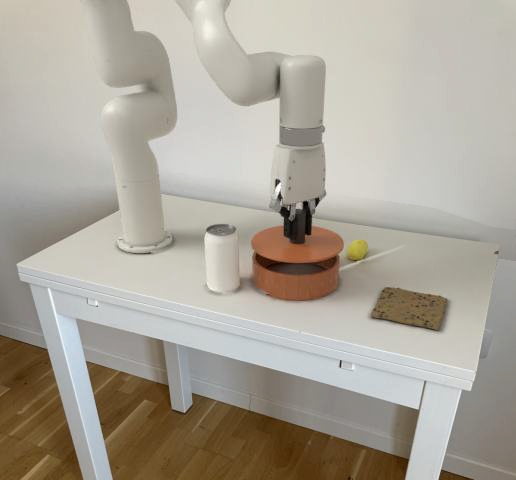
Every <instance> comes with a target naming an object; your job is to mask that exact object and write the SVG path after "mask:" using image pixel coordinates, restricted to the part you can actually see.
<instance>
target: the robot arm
mask: <svg viewBox="0 0 516 480" xmlns="http://www.w3.org/2000/svg"><path fill="white" fill-rule="evenodd" d="M174 1H175V3H176V4H177V5H178V7H179V8H180V10H181V11H182V12H183V14H184V15H185V17H186V18H187V19H188V20H189V22H190V24H191V26H192V30H193V31H192V33H193V39H194V44H195V47H196V51H197V55H198V57H199V60H200V63H201V64H202V66H203V68H204V69H205V71H206V72H207V75H209V76H210V78H211V80H212V81H213V82H214V83H215V85H216V86H217V88H218V89H219V90H220V91H221V92H222V93H223V95H224V96H225V97H226V98H227V99H228V100H229V101H231V102H232V103H234V104H235V105H238V106H241V107H251V106H255V105H258V104H260V103H261V104H262V103H264V102H269V101H273V100H278V99H279V113H278V114H279V118H278V119H279V121H278V122H279V124H278V125H279V126H278V132H279V133H278V134H279V135H278V144H275V146H274V150H273V154H272V161H271V166H270V167H271V168H270V179H269V180H270V181H269V197H270V199H271V200H270V202H269V205H268V208H269V209H270V210H272V211H275V212H278V214H279V215H280V217H281V218H283V225H284V230H283V231H284V236H285V237H287V238H289V239H291V240H296V239H297V220H296V219H295V212H296V209H297V204H300V209H303V210H305V211H306V230H305V235H308V236H309V235H311V231H312V226H313V215H315V214H316V209H317V207H318V206H319V204H320V203H321V201H322V200H323V199H324V198H326V196H327V191H326V176H327V175H326V174H327V173H326V171H327V169H326V168H327V167H326V166H327V165H326V151H325V143H324V142H323V134H324V133H325V132H326V127H325V125H324V111H325V94H326V93H325V92H326V77H327V75H326V73H327V65H326V61H325V59H323V58H322V57H320V56H317V55H312V54H311V55H310V54H299V55H298V54H296V55H289V54H286V53H282V52H277V51H263V52H255V53H249V54H247V52H246V51H245V50H244V48H243V47H242V46H241V44H240V43H239V42H238V40H237V39H236V37H235V36H234V34H233V32H232V31H231V29H230V27H229V25H228V23H227V20H226V19H227V18H226V12H227V10H228V8H229V7H230V5H231V2H232V0H174ZM80 3H81V6H82V10H83V14H84V17H85V23H86V24H85V25H86V28H87V34H88V37H89V41H90V46H91V50H92V54H93V58H94V59H93V60H94V62H95V63H94V64H95V66H96V70H97V73H98V76H99V77H100V79H101V81H102V82H103V83H104V85H106V86H108V87H109V88H115V89H119V88H121V89H122V88H127V87H128V88H129V87H134V86H135V88H136V92H132V93H127V94H123V95H119V96H116V97H114V98H112V99H110V100H109V101H108V102H106V104H104V106H103V108H102V110H101V114H100V124H101V128H102V132H103V135H104V138H105V140H106V143H107V147H108V150H109V154H110V159H111V164H112V169H113V177H114V181H115V189H116V197H117V203H118V210H119V217H120V225H121V229H122V234H121V235H120V236H119V237H117V240H116V243H117V248H119V249H120V250H121V251H123V252H127V253H132V254H149V253H151V252H153V251H159V250H162V249H164V248H166V247H168V246H170V245H171V244H172V242H173V236H172V234H171V233H170V232H169V231H166V228H165V219H164V218H165V217H164V209H163V200H162V199H163V198H162V190H161V180H160V172H159V171H160V170H159V165H158V164H159V163H158V160H157V157H156V156H155V153H154V152H153V150H152V148H151V147H150V143H149V142H150V141H151V142H152V140H156V139H159V138H162V137H165V136H167V135H169V134H170V133H172V132H173V131H174V129H175V127H176V125H177V121H178V105H177V100H176V93H175V88H174V81H173V75H172V69H171V63H170V58H169V55H168V52H167V50H166V48H165V45H164V44H163V42H162V41H161V40H160V39H159V37H157V35H155V34H154V33H152V32H149V31H146V30H135V27H134V24H133V23H134V22H133V18H132V13H131V8H130V4H129V2H128V0H80Z"/></svg>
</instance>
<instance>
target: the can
mask: <svg viewBox="0 0 516 480" xmlns="http://www.w3.org/2000/svg"><path fill="white" fill-rule="evenodd" d="M205 231H206V233H205V235H204V239H203V241H204V256H205V259H204V260H205V273H206V274H205V275H206V286H207V288H208V289H209V290H211V291H214V292H216V293H227V292H232V291H235V290H236V289H238V288H239V287H240V284H241V283H240V282H241V281H240V276H241V275H240V241H239V234H238V232H237V228H236V227H235V225H232V224H228V223H215V224H211V225H209V226H207V227H206V229H205Z"/></svg>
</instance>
